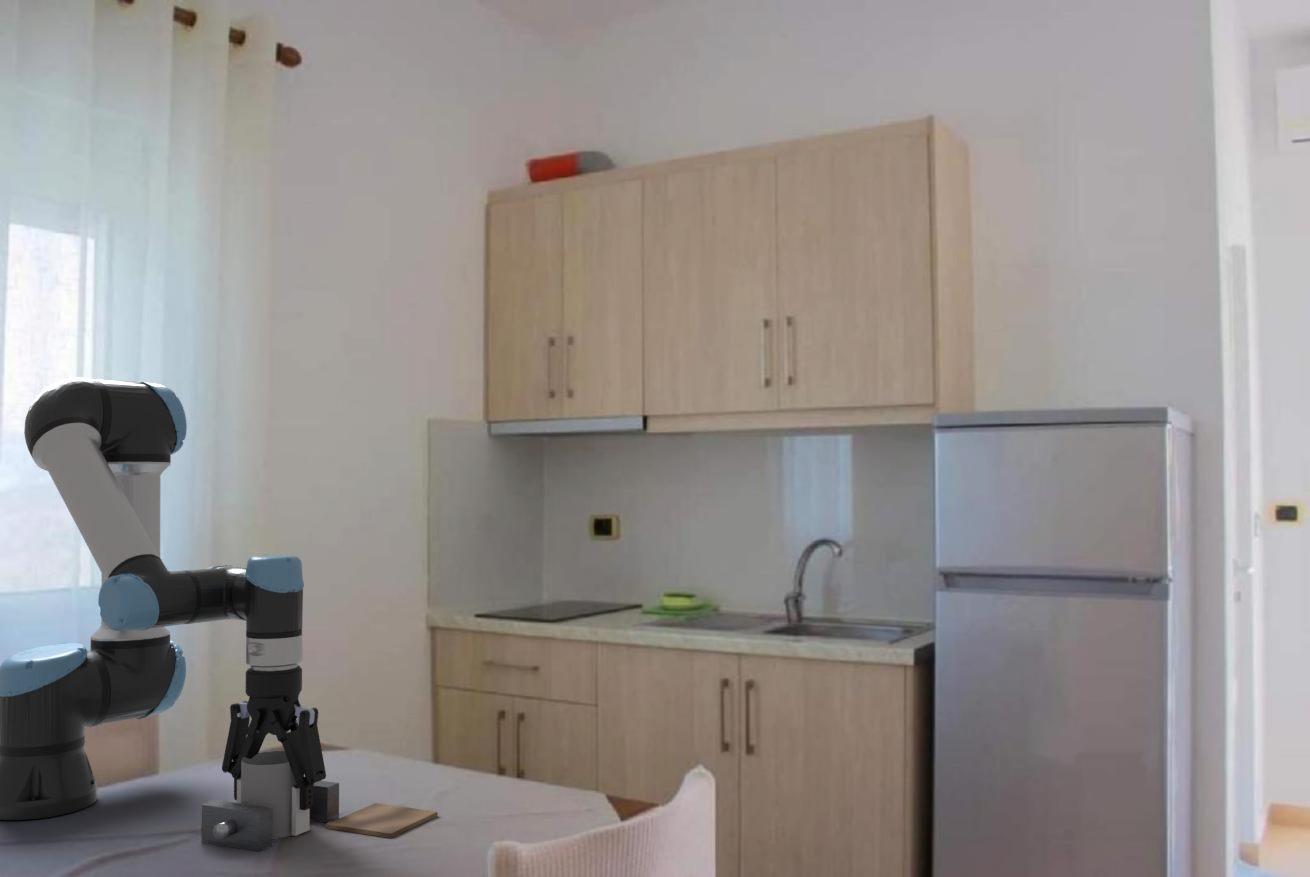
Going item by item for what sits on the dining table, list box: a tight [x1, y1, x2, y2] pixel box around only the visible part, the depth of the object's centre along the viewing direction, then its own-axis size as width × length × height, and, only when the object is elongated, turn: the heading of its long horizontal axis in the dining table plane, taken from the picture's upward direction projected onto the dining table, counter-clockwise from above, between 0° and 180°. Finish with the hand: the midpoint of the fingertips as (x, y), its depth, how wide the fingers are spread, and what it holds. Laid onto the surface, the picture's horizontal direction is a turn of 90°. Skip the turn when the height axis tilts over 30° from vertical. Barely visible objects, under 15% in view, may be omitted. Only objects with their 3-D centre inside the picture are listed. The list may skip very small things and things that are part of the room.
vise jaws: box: [200, 780, 340, 853], centre depth 157 cm, size 10×20×5 cm, turn 156°
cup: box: [241, 750, 297, 840], centre depth 157 cm, size 8×8×10 cm
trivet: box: [325, 802, 439, 839], centre depth 161 cm, size 11×11×1 cm
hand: (272, 828), depth 157 cm, fingers open, 9 cm apart
